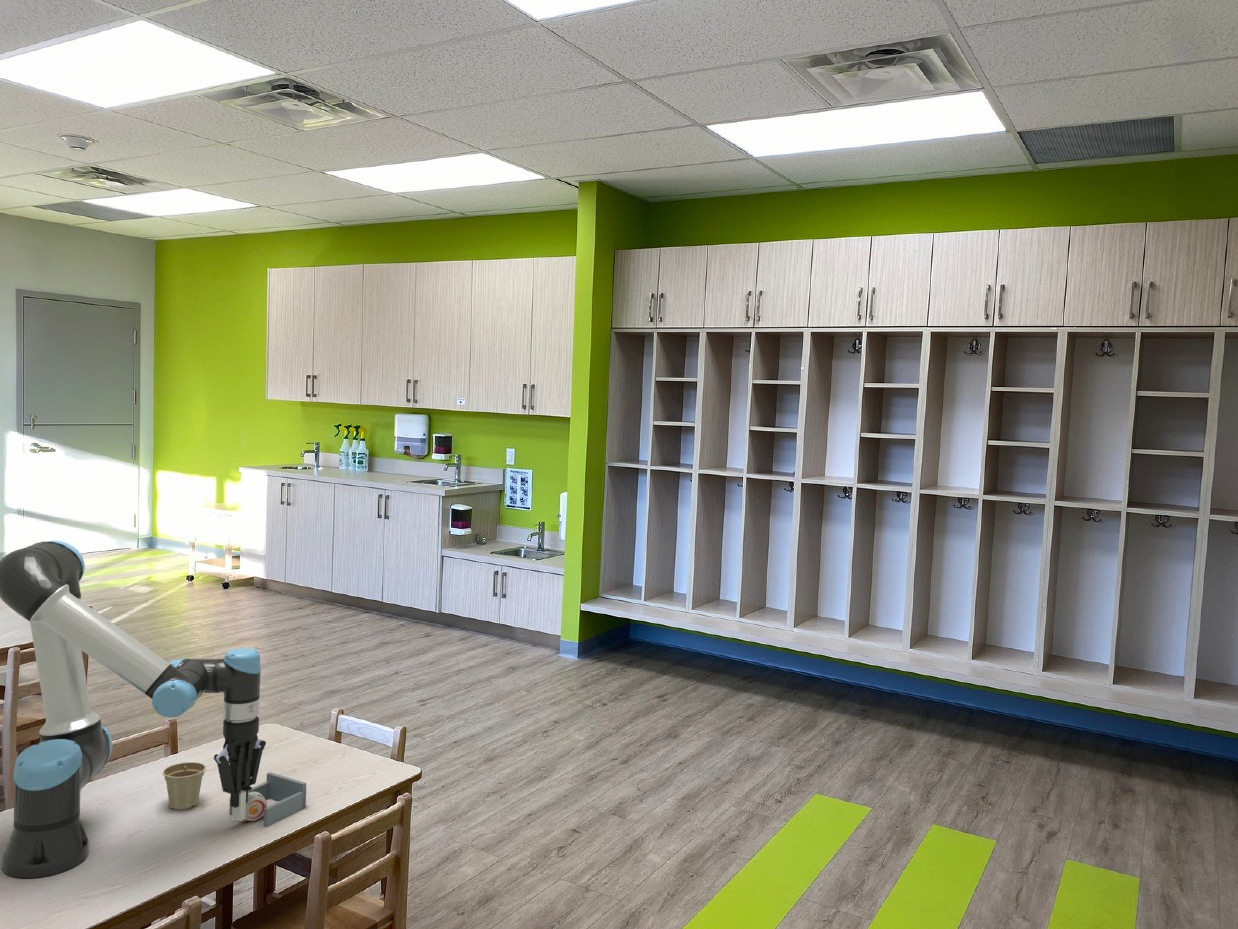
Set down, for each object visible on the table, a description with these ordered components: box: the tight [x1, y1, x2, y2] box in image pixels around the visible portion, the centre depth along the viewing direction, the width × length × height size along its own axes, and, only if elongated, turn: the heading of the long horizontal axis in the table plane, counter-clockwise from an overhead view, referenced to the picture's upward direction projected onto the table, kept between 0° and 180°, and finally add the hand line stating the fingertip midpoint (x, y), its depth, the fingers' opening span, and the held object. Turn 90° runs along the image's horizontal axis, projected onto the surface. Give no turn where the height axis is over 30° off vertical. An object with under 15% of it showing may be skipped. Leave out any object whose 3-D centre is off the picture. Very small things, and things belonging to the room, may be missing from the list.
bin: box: [228, 771, 307, 827], centre depth 214 cm, size 12×12×6 cm
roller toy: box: [241, 792, 268, 823], centre depth 209 cm, size 4×6×6 cm
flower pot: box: [162, 761, 207, 811], centre depth 215 cm, size 9×9×9 cm
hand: (238, 819), depth 206 cm, fingers closed
